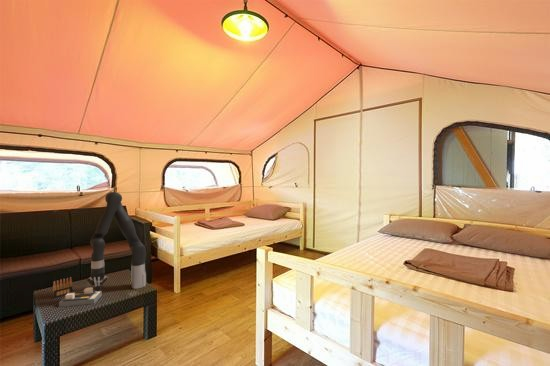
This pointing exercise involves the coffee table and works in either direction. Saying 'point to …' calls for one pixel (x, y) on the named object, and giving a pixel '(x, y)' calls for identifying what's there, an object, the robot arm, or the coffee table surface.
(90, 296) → the switch panel
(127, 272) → the coffee table surface
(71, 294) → the switch
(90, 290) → the switch
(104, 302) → the coffee table surface
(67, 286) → the ammunition clip
